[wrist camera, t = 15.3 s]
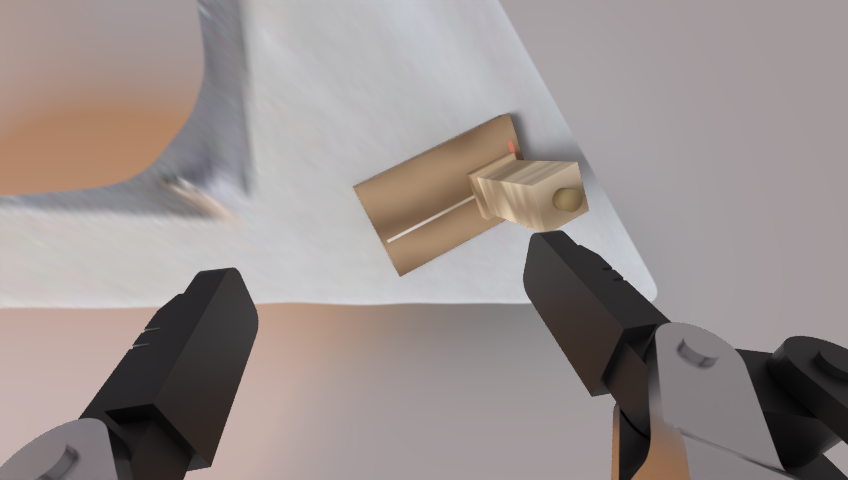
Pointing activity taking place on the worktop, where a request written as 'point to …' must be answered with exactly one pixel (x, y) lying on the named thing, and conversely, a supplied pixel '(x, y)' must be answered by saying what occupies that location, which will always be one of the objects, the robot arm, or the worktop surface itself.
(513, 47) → the worktop surface
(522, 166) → the pale wood tall block
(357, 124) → the worktop surface
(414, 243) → the plank
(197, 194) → the worktop surface
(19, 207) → the worktop surface
